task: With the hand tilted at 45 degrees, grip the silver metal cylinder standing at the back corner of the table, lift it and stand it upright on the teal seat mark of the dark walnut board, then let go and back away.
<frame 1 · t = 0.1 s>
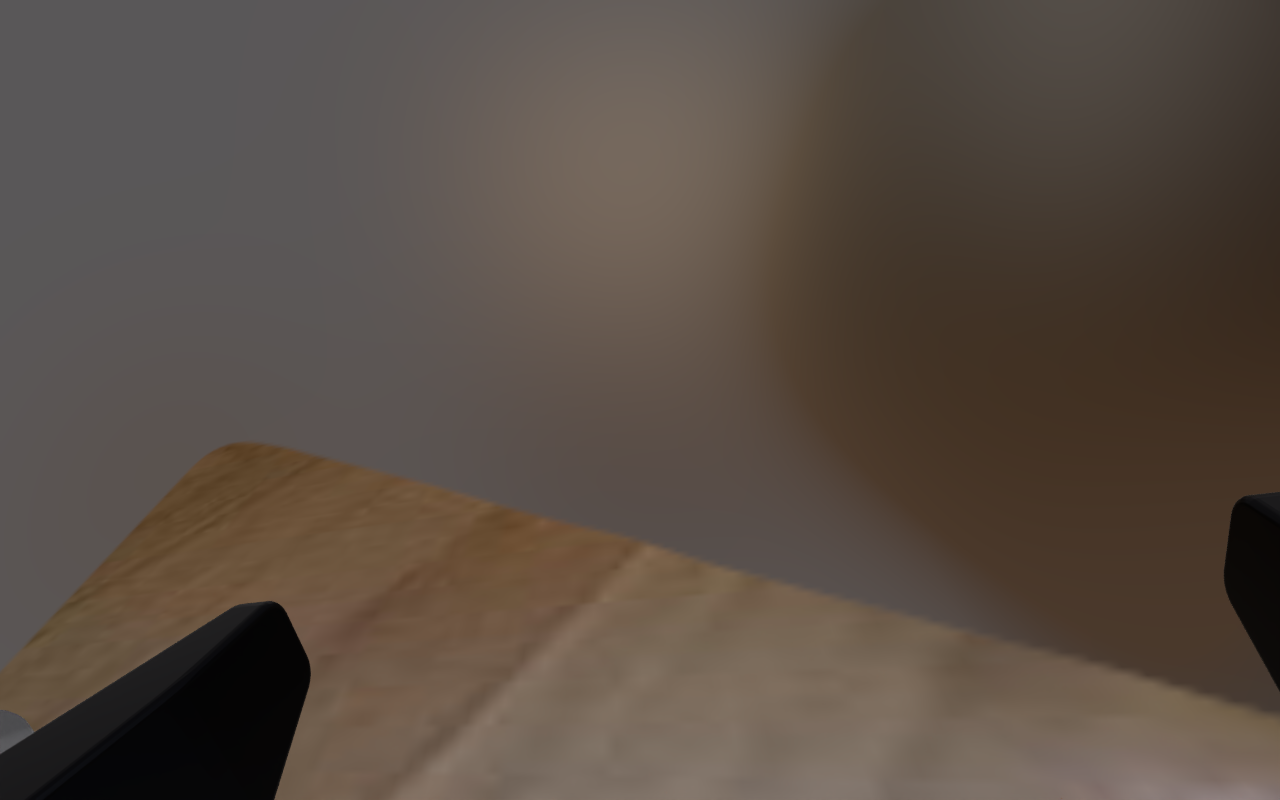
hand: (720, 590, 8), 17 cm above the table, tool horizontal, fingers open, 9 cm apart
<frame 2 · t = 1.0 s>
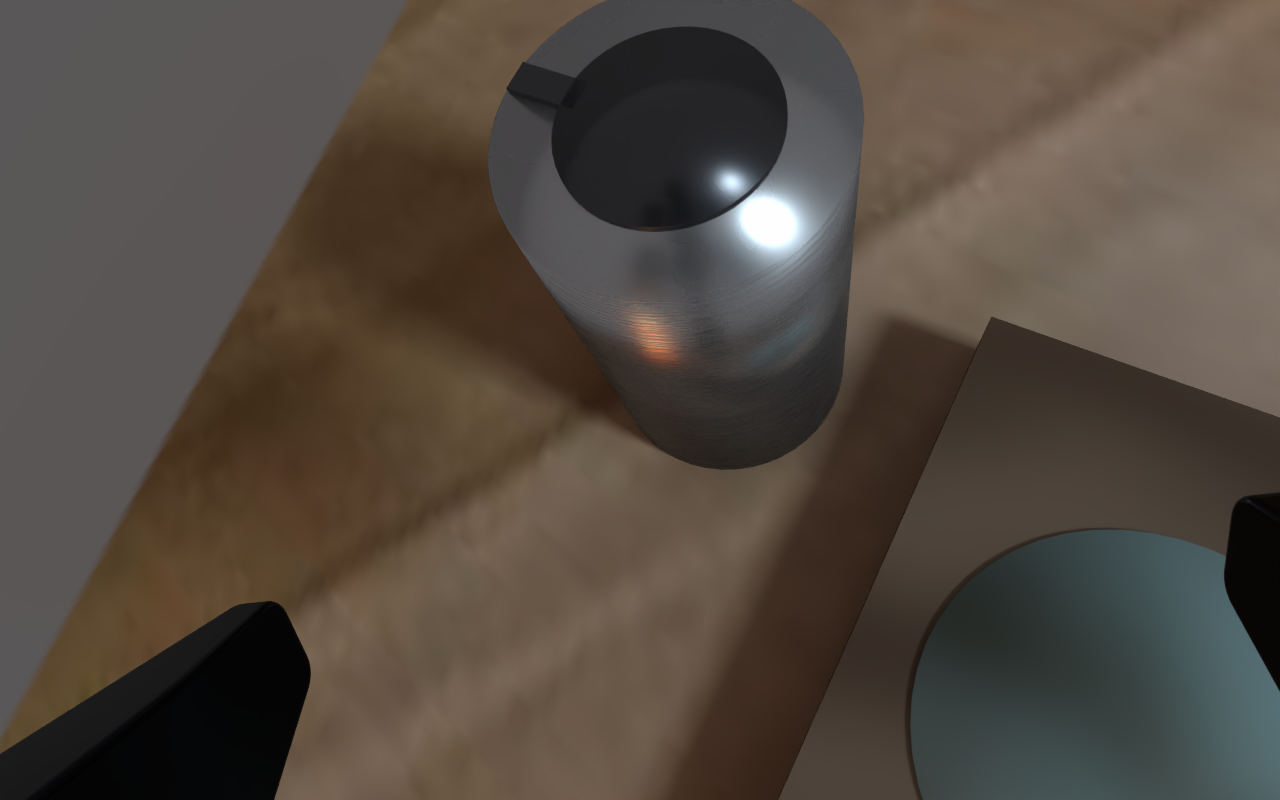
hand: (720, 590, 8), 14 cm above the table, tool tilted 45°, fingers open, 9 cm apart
silver metal cylinder: (728, 361, 24), on the table
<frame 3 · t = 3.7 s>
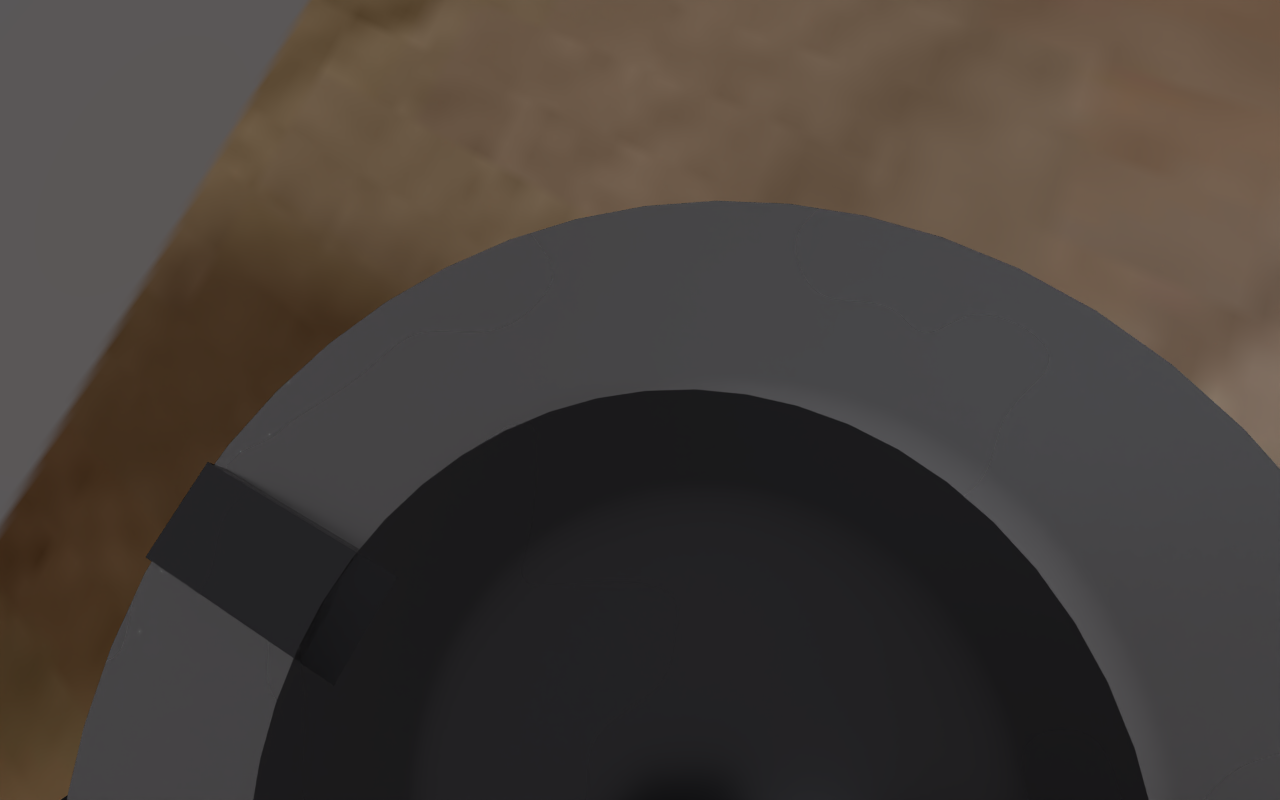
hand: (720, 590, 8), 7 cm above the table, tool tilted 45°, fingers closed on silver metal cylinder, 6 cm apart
silver metal cylinder: (771, 717, 13), on the table, touching gripper
when the fingers open (10 cm above the table, at t = 7.8 s): silver metal cylinder drops 1 cm, resting on walnut board.
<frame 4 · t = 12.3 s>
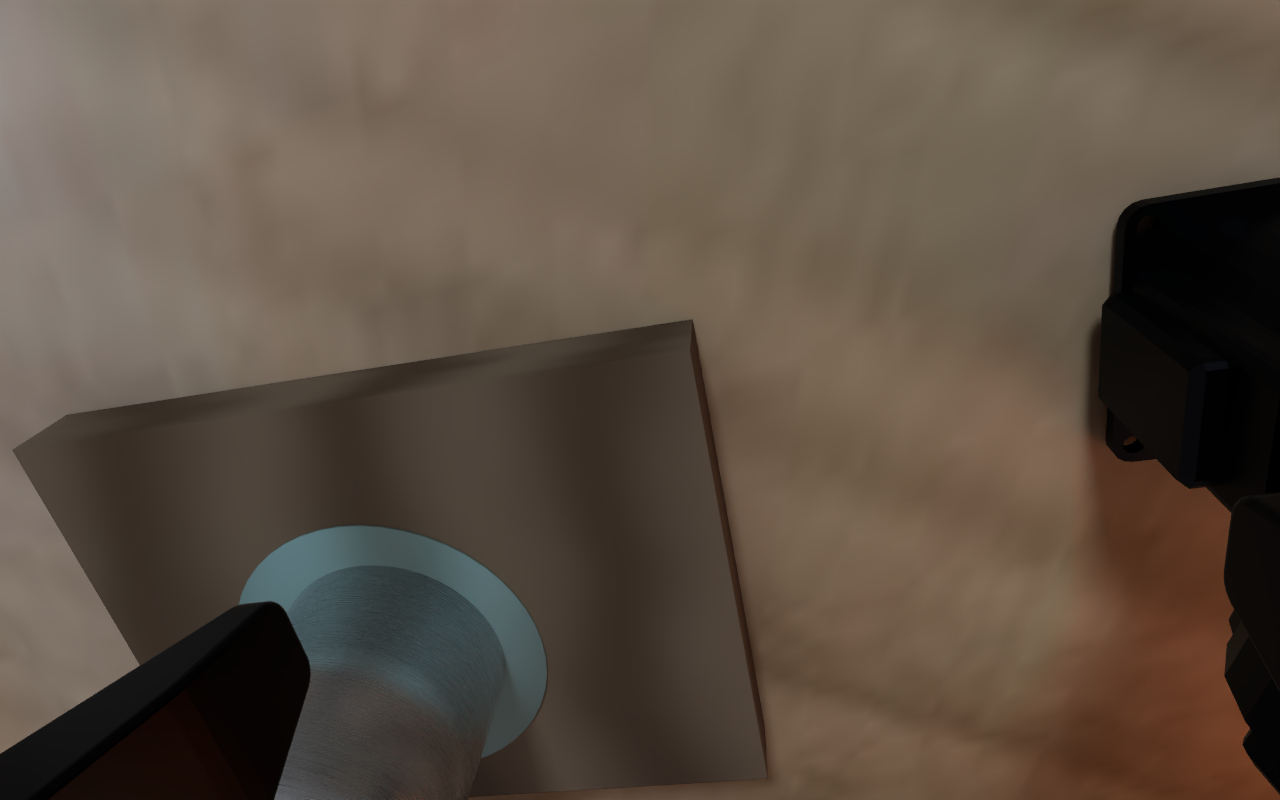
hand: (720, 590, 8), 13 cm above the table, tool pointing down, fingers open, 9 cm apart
walnut board: (436, 579, 25), on the table
silver metal cylinder: (395, 655, 23), point 2 cm above the table, touching walnut board
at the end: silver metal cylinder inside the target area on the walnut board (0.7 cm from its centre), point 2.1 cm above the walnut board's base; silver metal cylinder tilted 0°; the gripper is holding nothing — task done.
